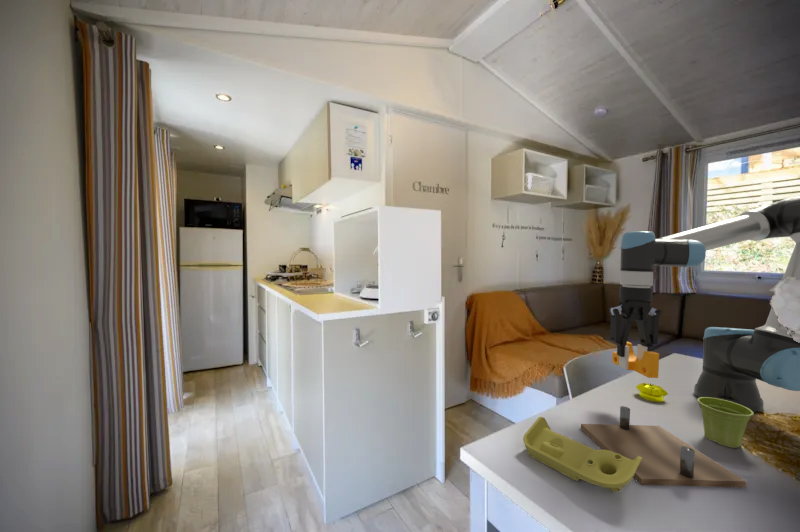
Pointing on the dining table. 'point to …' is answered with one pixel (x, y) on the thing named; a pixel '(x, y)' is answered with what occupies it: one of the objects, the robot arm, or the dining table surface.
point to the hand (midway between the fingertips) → (632, 367)
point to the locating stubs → (686, 452)
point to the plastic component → (579, 458)
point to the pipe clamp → (641, 362)
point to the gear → (651, 392)
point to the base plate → (660, 456)
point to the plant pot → (724, 420)
